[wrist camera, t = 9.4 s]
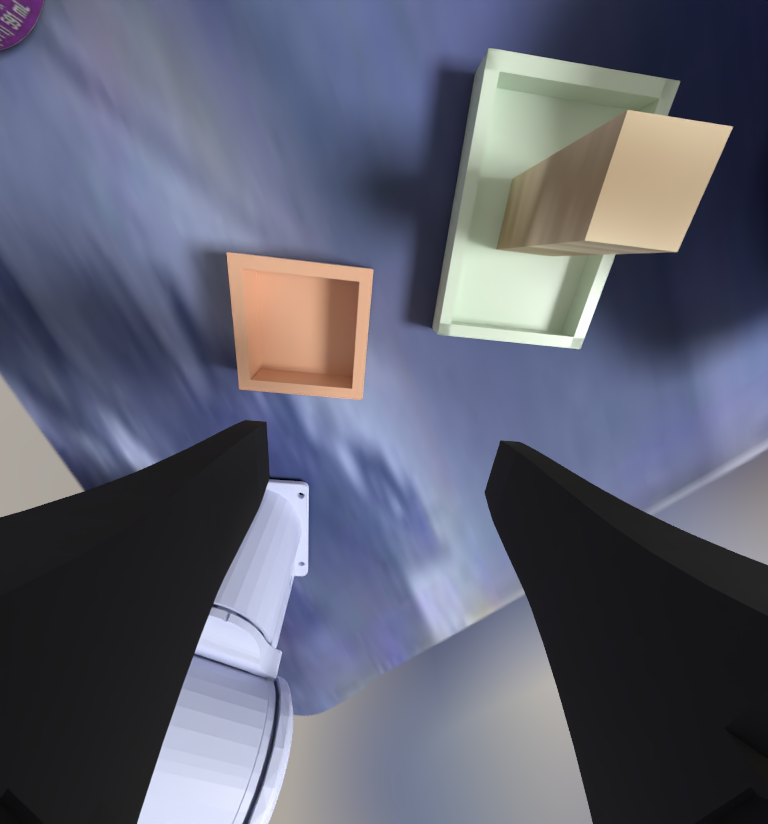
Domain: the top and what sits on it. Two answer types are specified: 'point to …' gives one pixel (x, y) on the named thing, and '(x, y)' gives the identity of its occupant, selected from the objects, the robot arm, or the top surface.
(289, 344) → the orange open box
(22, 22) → the beverage can
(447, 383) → the top surface
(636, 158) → the beech pin
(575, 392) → the top surface
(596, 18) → the top surface
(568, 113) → the tray
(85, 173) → the top surface
